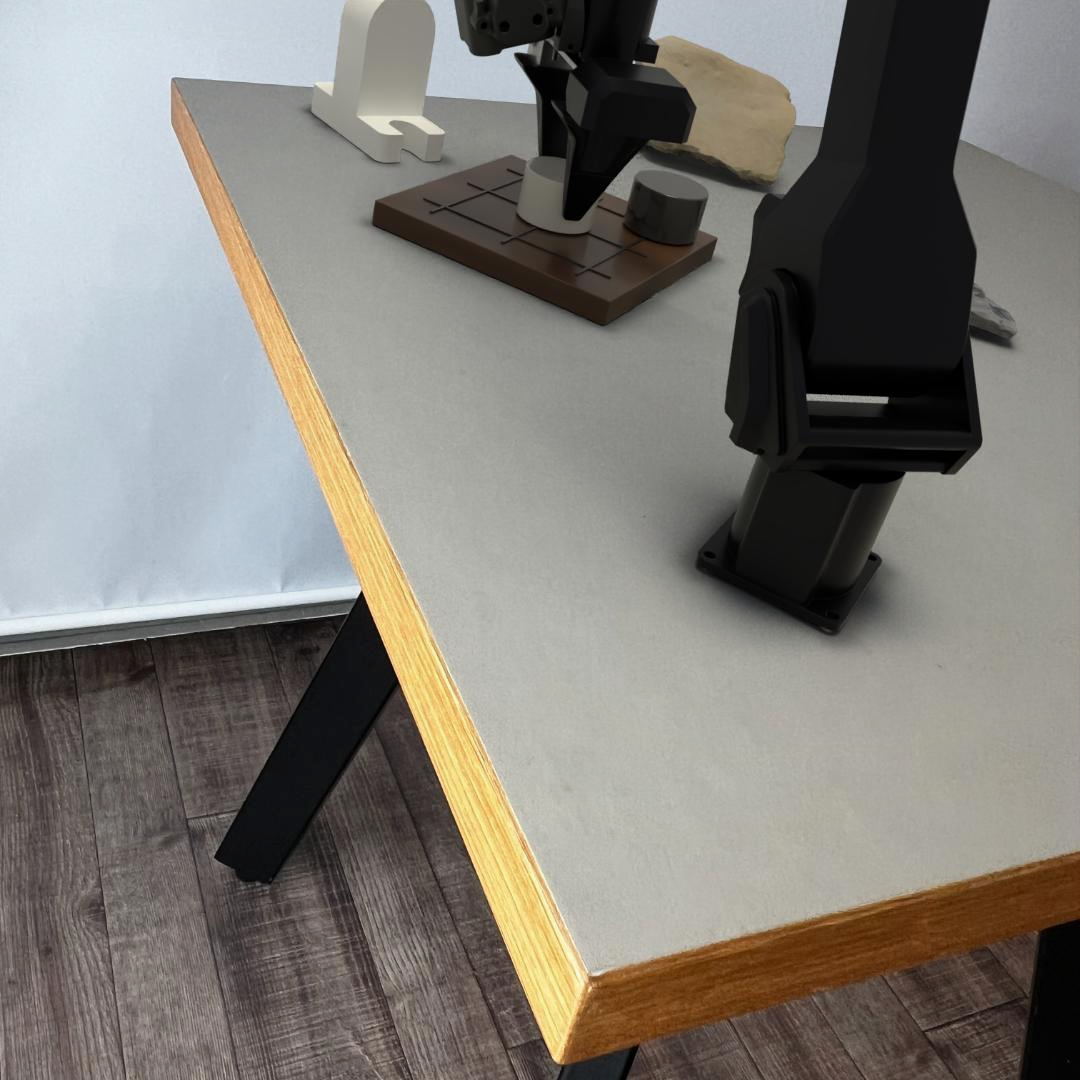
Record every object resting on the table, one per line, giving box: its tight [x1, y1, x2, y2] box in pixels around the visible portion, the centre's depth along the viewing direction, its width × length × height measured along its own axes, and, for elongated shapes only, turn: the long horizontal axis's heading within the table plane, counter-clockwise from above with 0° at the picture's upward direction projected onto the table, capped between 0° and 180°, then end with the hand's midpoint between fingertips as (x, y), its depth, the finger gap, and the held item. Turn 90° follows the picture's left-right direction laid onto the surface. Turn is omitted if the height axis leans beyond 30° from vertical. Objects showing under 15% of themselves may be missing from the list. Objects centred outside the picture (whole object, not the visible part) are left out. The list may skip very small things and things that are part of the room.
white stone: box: [517, 156, 600, 234], centre depth 76 cm, size 5×5×3 cm
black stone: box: [623, 169, 710, 245], centre depth 78 cm, size 5×5×3 cm
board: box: [371, 154, 719, 326], centre depth 77 cm, size 16×16×2 cm
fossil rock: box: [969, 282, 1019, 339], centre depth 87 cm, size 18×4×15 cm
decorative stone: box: [634, 35, 797, 186], centre depth 97 cm, size 8×14×8 cm, turn 80°
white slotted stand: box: [310, 0, 446, 164], centre depth 84 cm, size 5×10×10 cm, turn 37°
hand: (559, 202), depth 76 cm, fingers closed on white stone, 5 cm apart
